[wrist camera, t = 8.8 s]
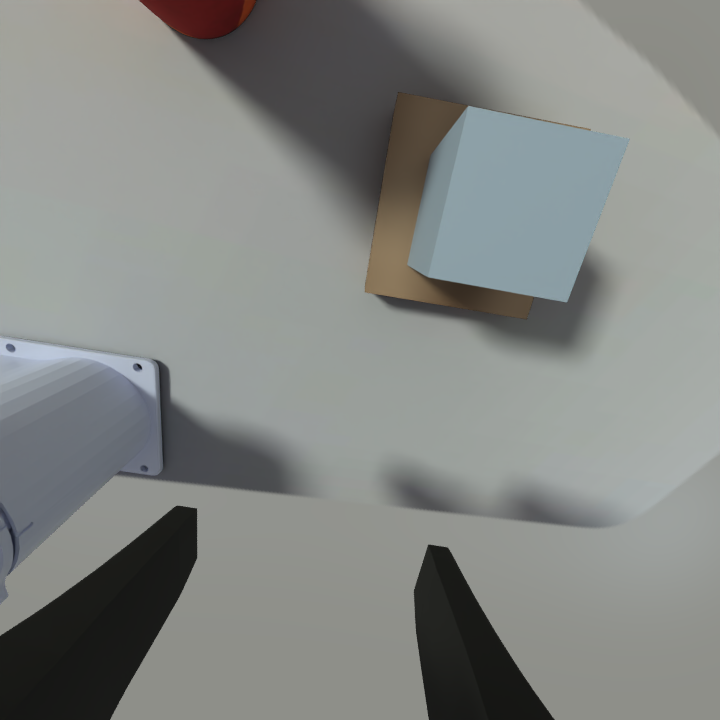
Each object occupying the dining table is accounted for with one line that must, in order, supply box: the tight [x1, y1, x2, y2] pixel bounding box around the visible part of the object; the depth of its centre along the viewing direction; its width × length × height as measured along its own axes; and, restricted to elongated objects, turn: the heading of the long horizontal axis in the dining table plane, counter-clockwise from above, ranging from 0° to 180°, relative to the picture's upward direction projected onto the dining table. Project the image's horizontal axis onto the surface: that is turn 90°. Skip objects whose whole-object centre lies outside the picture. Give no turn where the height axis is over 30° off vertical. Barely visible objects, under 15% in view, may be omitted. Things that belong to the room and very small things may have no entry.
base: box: [365, 92, 591, 319], centre depth 16 cm, size 8×8×2 cm
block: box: [407, 106, 630, 302], centre depth 12 cm, size 4×4×6 cm
